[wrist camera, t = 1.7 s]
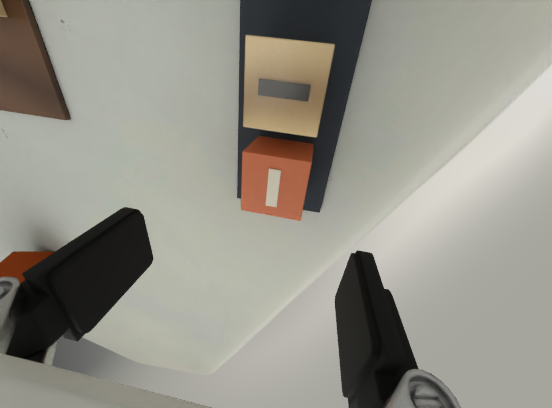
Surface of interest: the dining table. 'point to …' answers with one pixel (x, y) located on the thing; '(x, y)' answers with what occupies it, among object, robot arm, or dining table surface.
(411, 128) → the dining table surface
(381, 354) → the robot arm
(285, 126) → the tan block
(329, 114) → the near mat
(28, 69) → the far board
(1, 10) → the far letter i
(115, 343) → the dining table surface
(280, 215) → the orange striped cube
